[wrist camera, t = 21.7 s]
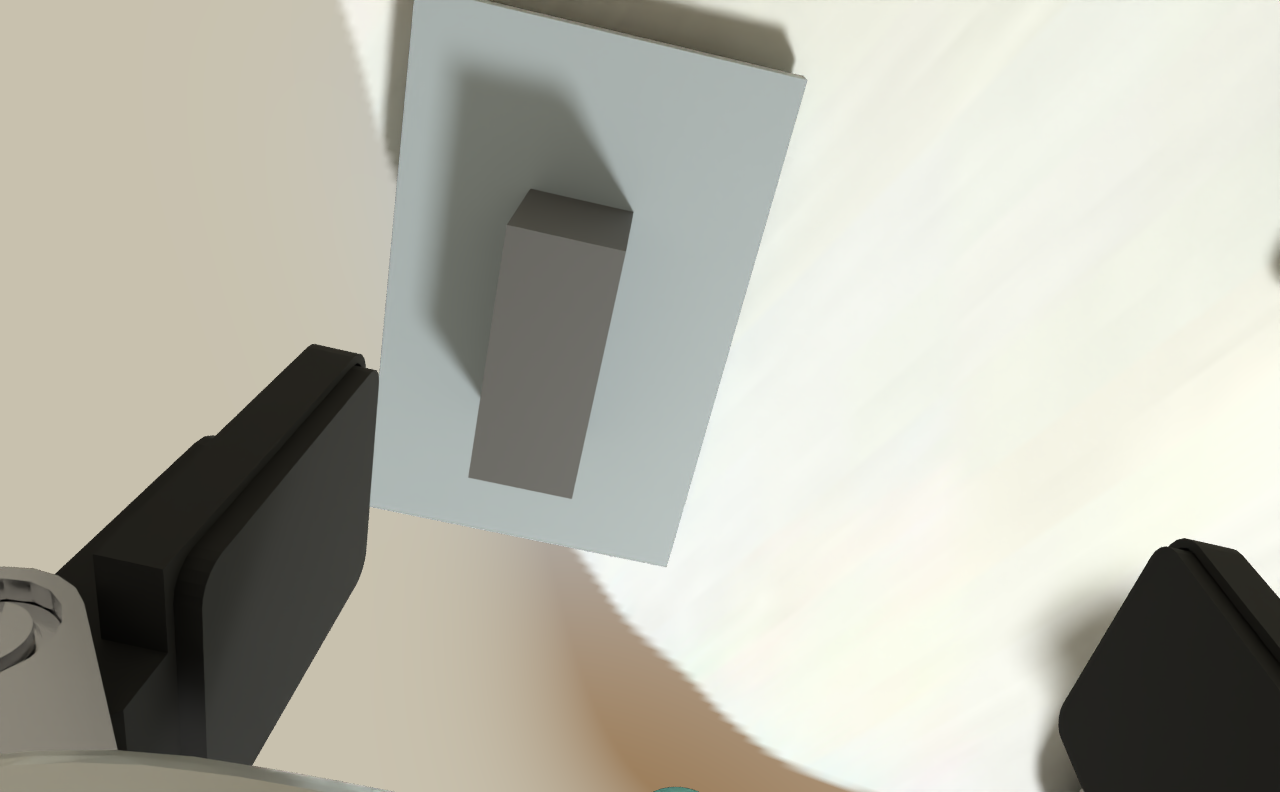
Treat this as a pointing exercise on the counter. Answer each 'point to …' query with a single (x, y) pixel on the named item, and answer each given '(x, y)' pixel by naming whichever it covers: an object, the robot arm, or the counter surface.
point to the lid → (566, 272)
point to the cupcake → (675, 789)
